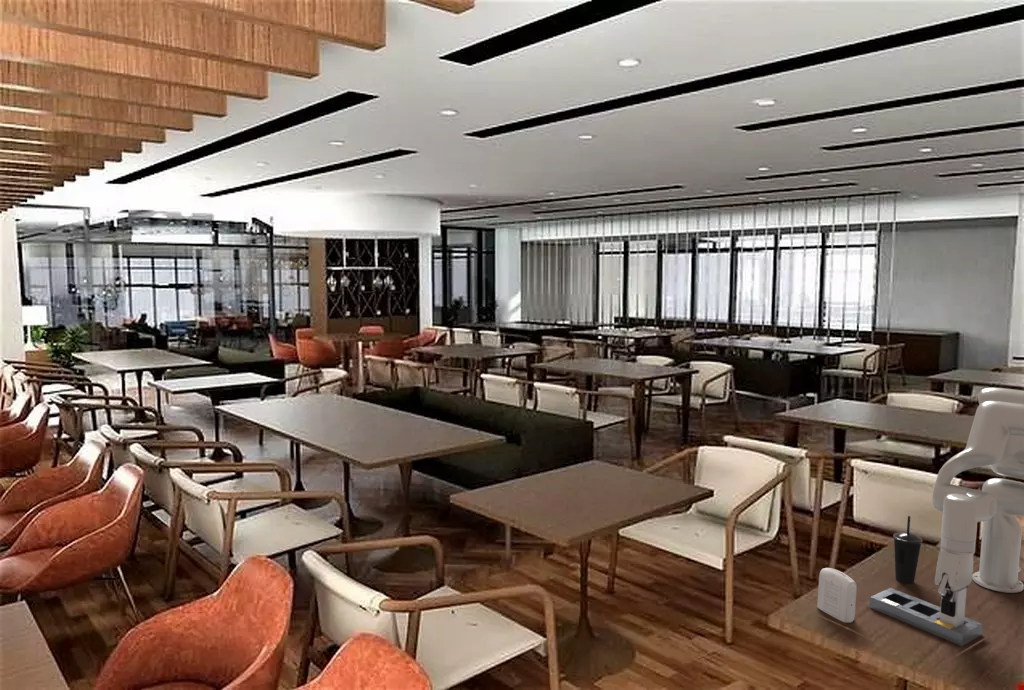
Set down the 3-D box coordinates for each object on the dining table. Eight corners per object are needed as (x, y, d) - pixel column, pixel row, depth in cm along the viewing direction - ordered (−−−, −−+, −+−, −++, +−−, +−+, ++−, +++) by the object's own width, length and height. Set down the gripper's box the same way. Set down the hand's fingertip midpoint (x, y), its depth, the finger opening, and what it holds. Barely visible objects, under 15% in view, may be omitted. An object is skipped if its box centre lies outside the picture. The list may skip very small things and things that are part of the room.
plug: (947, 618, 190) (950, 579, 188) (963, 625, 186) (966, 585, 185) (939, 623, 188) (942, 583, 186) (955, 629, 184) (958, 588, 183)
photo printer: (857, 621, 193) (859, 577, 192) (845, 625, 192) (848, 580, 190) (825, 605, 203) (828, 562, 201) (814, 608, 201) (816, 565, 199)
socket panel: (889, 599, 206) (890, 587, 205) (981, 636, 186) (982, 622, 186) (869, 608, 201) (870, 596, 200) (961, 647, 181) (962, 633, 180)
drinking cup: (923, 587, 213) (927, 522, 210) (894, 585, 214) (899, 520, 212) (914, 576, 220) (918, 512, 218) (887, 574, 222) (891, 511, 219)
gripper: (958, 532, 192) (953, 598, 194) (925, 545, 183) (920, 614, 185) (989, 541, 186) (984, 609, 188) (956, 555, 177) (951, 627, 179)
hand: (952, 611), depth 187 cm, fingers closed on plug, 4 cm apart
